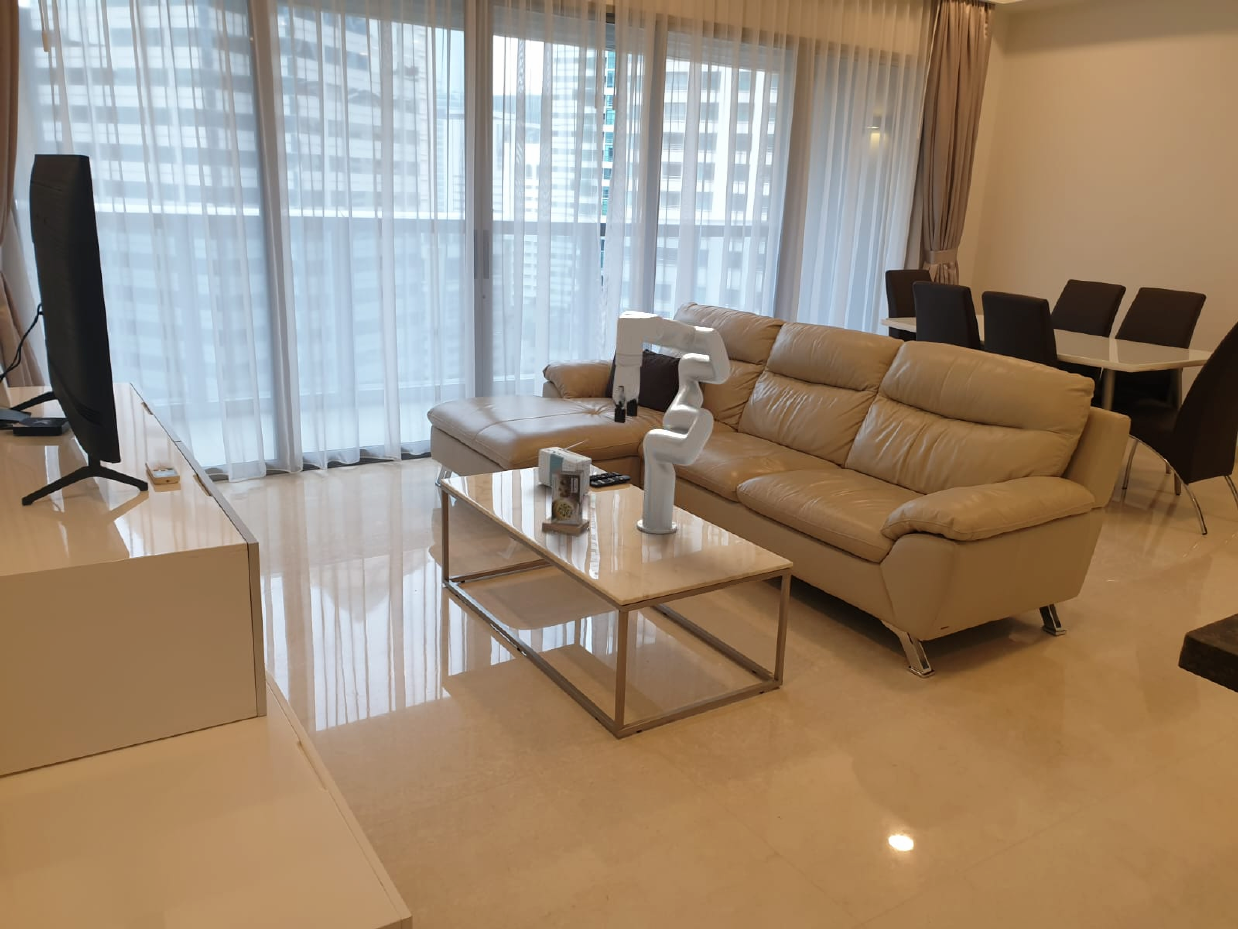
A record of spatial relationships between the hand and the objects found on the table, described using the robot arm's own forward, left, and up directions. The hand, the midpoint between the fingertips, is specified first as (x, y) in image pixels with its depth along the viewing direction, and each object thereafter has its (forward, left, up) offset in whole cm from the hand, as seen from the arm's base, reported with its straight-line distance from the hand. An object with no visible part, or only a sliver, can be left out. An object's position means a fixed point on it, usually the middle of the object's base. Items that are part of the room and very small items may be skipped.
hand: (625, 419), depth 259 cm
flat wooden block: (-5, -20, -38) cm, 43 cm away
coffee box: (-6, -20, -36) cm, 41 cm away
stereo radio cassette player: (-43, -37, -39) cm, 68 cm away
